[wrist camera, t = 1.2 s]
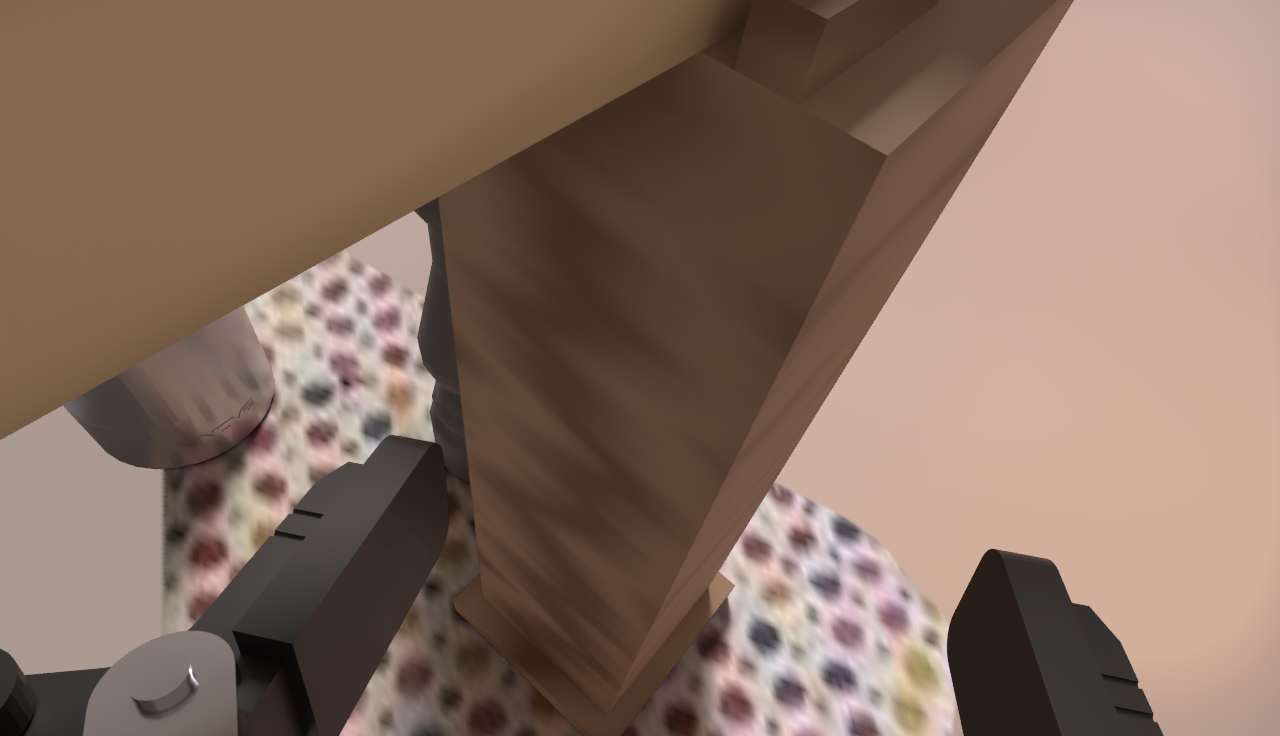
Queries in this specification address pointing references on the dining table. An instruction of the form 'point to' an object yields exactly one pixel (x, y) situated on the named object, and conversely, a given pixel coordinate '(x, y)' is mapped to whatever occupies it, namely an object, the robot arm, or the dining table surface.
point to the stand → (693, 312)
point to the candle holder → (442, 352)
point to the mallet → (262, 147)
